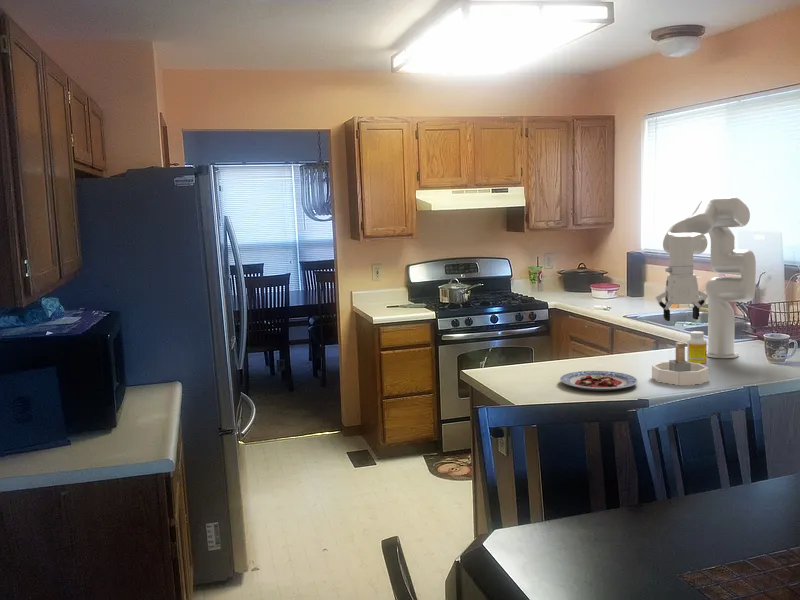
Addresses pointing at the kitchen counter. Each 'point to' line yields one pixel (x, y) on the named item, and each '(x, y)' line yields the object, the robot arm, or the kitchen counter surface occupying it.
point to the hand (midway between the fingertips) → (681, 319)
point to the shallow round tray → (680, 373)
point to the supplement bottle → (697, 348)
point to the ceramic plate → (599, 380)
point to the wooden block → (680, 352)
